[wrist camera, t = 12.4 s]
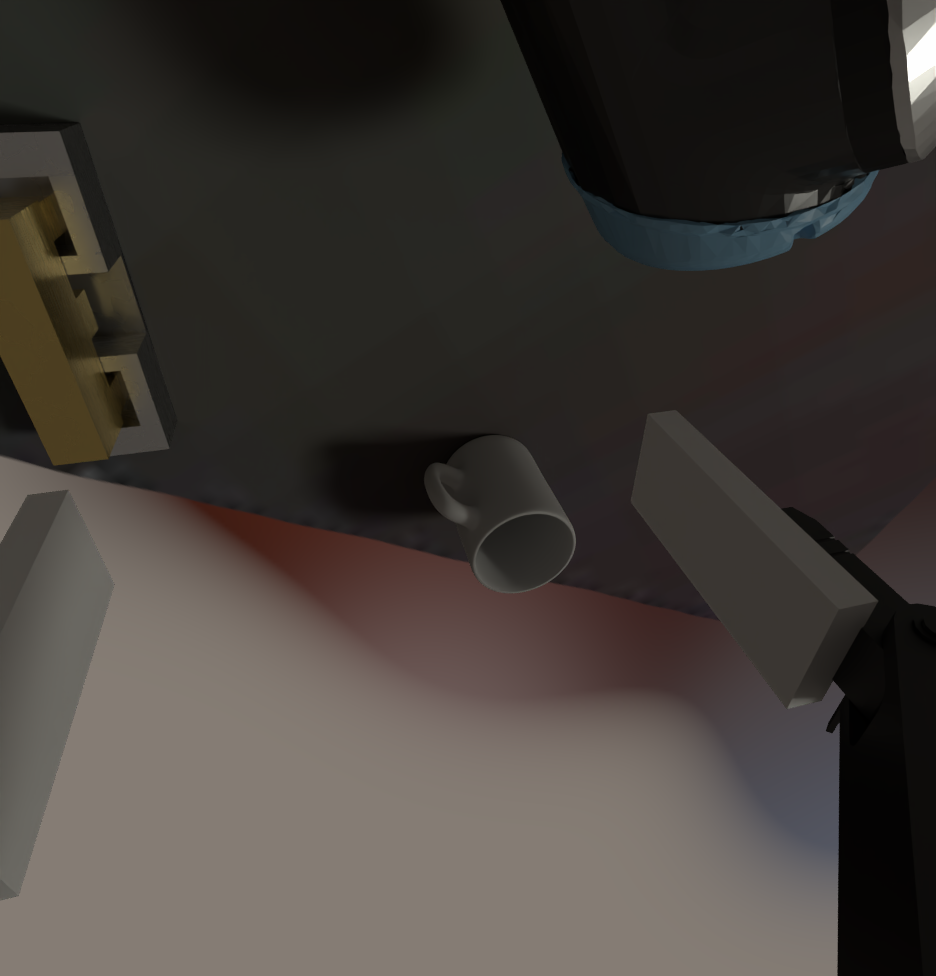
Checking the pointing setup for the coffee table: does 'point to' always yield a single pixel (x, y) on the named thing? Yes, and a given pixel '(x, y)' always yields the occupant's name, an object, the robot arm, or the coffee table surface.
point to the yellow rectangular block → (52, 339)
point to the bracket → (93, 270)
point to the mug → (502, 513)
